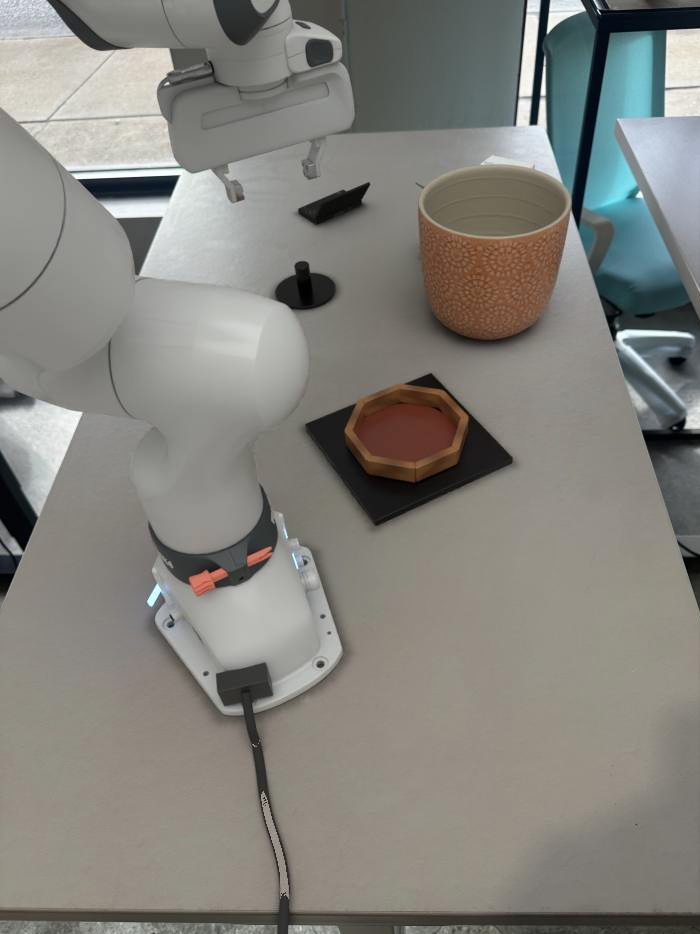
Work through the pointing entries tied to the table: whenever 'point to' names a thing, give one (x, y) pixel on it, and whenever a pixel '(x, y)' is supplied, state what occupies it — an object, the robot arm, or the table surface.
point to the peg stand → (305, 288)
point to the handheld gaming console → (334, 204)
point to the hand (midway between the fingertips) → (274, 188)
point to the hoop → (398, 467)
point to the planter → (492, 247)
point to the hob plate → (406, 452)
